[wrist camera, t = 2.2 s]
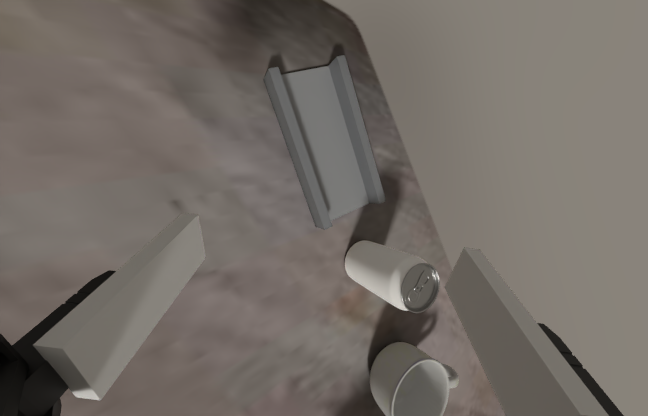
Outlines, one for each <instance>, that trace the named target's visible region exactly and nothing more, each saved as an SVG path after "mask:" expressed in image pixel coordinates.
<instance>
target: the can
mask: <svg viewBox="0 0 648 416" xmlns="http://www.w3.org/2000/svg"><path fill="white" fill-rule="evenodd" d="M345 269H346V272H347V274H348V276H349V277H350V278H351V279H353V280H354V281H356V282H357V283H359V284H360V285H362V286H363V287H365V288H367V289H368V290H370V291H371V292H373V293H374V294H376V295H377V296H379V297H381V298H382V299H384V300H385V301H387V302H388V303H390V304H392V305H393V306H395V307H397V308H399V309H401V310H405V311H410V312H412V313H421V312H424V311H426V310H427V309H428V308H430V307H431V305H432V304H433V303H434V301H435V299H436V297H437V295H438V292H439V285H440V281H439V275H438V273H437V271H436V269H435V268H434V267H433V266H432V265H430V264H428V263H427V262H426V261H425V260H423V259H422V258H420V257H418V256H415V255H412V254H409V253H406V252H403V251H400V250H397V249H394V248H390V247H387V246H384V245H381V244H378V243H374V242H371V241H367V240H363V241H359V242H357V243H355V244H354V245H353V246H352V247H351V248H350V249H349V251H348V252H347V255H346V258H345Z"/></svg>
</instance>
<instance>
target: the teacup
mask: <svg viewBox="0 0 648 416" xmlns="http://www.w3.org/2000/svg"><path fill="white" fill-rule="evenodd" d="M448 376H449V377H448ZM458 382H459V378H458V375H457V373H456V371H455V370H454V369H452V368H451V367H449V366H447V365H445V364H442V363H440V362H439V361H437V360H435V359H433V358H431V357H430V356H429V355H427V354H426V353H424V352H423V351H421V350H420V349H418V348H417V347H415V346H413V345H411V344H409V343H405V342H396V343H392V344H390V345H388V346H387V347H385V348H384V349H383V350H382V351H381V352H380V353H379V354H378V355H377V357H376V359H375V361H374V363H373V365H372V368H371V373H370V387H371V392H372V395H373V397H374V399H375V401H376V403H377V404H378V406H379V407H380V409H381V410H382V411H383V413H384V414H385V415H386V416H442V415H443V413H444V411H445V409H446V405H447V402H448V396H449V388H454V387H456V386H457V385H458Z"/></svg>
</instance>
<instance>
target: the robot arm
mask: <svg viewBox="0 0 648 416" xmlns="http://www.w3.org/2000/svg"><path fill="white" fill-rule="evenodd" d="M205 258H206V255H205V250H204V244H203V239H202V233H201V227H200V222H199V216H198V215H197V214H189V213H182V214H181V215H180V216H178V217H177V218H176V219H175V220H174V221H173V222H172V223H171V224H169V225H168V226H167V227H166V228H165V229H164V230H163V231H161V232H160V233H159V234H158V235H157V236H156V237H155V238H154V239H152V240H151V241H150V242H149V243H148V244H147V245H146V246H144V247H143V248H142V249H141V250H140V251H139V252H138V253H137V254H135V255H134V256H133V257H132V258H131V259H130V260H129V261H127V262H126V263H125V264H124V265H123V266H122V267H121V268H120V269H118V270H117V271H110V270H109V271H107V272H105V273H103V274H102V275H100V276H98V277H96V278H94V279H92V280H91V281H90V282H89V283H87V284H86V285H85V286H84V287H82V288H81V289H80V290H79V291H78V293H77V294H74V295H73V296H72V297H70V298H69V299H68V300H67V301H66V303H65V304H62V305H61V306H60V307H58V308H57V309H56V310H55V311H54V312H52V313H51V314H50V315H49V316H48V317H46V318H45V319H44V320H43V321H41V322H40V323H39V324H38V325H37V326H35V327H34V328H33V329H32V330H31V331H29V332H28V333H27V334H26V335H25V336H23V337H22V338H21V339H20V340H19V341H17V342H16V343H15V344H14V345H12V346H11V345H10V343H9V342H8V341H7V340H6V339H5V338H4V337H3V336H2V335H1V334H0V416H60V413H61V400H60V397H61V396H62V395H63V393H64V392H65V391H66V390H67V389H68V388H69V389H70V390H71V391H72V393H73V394H74V395H75V396H76V397H79V398H86V399H94V400H101V399H102V398H103V397H104V395H105V394H106V393H107V391H108V390H109V388H110V387H111V386H112V384H113V383H114V382H115V380H116V379H117V378H118V376H119V375H120V373H121V372H122V371H123V369H124V368H125V367H126V365H127V364H128V363H129V361H130V360H131V359H132V357H133V356H134V354H135V353H136V352H137V350H138V349H139V348H140V346H141V345H142V344H143V342H144V341H145V340H146V338H147V337H148V335H149V334H150V333H151V331H152V330H153V329H154V327H155V326H156V325H157V323H158V322H159V320H160V319H161V318H162V316H163V315H164V314H165V312H166V311H167V310H168V308H169V307H170V306H171V304H172V303H173V301H174V300H175V299H176V297H177V296H178V295H179V293H180V292H181V291H182V289H183V288H184V286H185V285H186V284H187V282H188V281H189V280H190V278H191V277H192V276H193V274H194V273H195V272H196V270H197V269H198V267H199V266H200V265H201V263H202V262H203V261H204V259H205ZM445 289H446V291H447V294H448V296H449V298H450V300H451V302H452V304H453V306H454V308H455V310H456V312H457V315H458V317H459V319H460V321H461V323H462V325H463V327H464V329H465V331H466V333H467V336H468V338H469V340H470V342H471V344H472V346H473V348H474V350H475V352H476V354H477V357H478V359H479V361H480V363H481V365H482V367H483V369H484V371H485V373H486V375H487V378H488V380H489V382H490V384H491V386H492V388H493V390H494V392H495V394H496V396H497V399H498V401H499V403H500V405H501V407H502V409H503V411H504V413H505V415H506V416H623V414H622V413H621V412H620V411H619V410H618V408H617V407H616V406H615V405H614V404H613V402H612V401H611V400H610V399H609V397H608V396H607V395H606V394H605V393H604V391H603V390H602V389H601V388H600V387H599V385H598V384H597V383H596V381H595V380H594V379H593V378H592V377H591V375H590V374H589V373H588V372H587V370H586V369H583V367H582V364H581V363H580V362H579V361H578V359H577V358H576V357H575V356H573V355H572V352H571V351H570V350H569V349H568V347H567V346H566V345H565V344H564V343H563V341H562V340H561V339H560V338H559V337H558V336H557V335H556V334H555V333H553V332H552V331H551V330H550V329H549V328H548V327H547V326H545V325H544V324H540V323H536V321H535V320H534V319H533V317H532V316H531V315H530V314H529V312H528V311H527V310H526V308H525V307H524V306H523V304H522V303H521V302H520V301H519V299H518V298H517V297H516V295H515V294H514V293H513V292H512V290H511V289H510V288H509V287H508V285H507V284H506V283H505V281H504V280H503V279H502V277H501V276H500V275H499V274H498V273H497V271H496V270H495V268H494V267H493V266H492V264H491V263H490V262H489V261H488V259H487V258H486V257H485V255H484V254H483V253H482V252H481V250H480V249H473V248H465V247H464V249H463V251H462V253H461V255H460V257H459V259H458V261H457V263H456V265H455V267H454V269H453V271H452V273H451V275H450V277H449V279H448V281H447V283H446V285H445Z"/></svg>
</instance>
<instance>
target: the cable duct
mask: <svg viewBox="0 0 648 416" xmlns="http://www.w3.org/2000/svg"><path fill="white" fill-rule="evenodd" d="M264 82H265V85H266V88H267V91H268V94H269V96H270V99H271V102H272V105H273V108H274V111H275V113H276V116H277V119H278V122H279V125H280V127H281V130H282V133H283V136H284V139H285V141H286V144H287V147H288V150H289V153H290V155H291V158H292V161H293V164H294V167H295V170H296V172H297V175H298V178H299V181H300V184H301V186H302V189H303V192H304V195H305V198H306V200H307V203H308V206H309V209H310V212H311V215H312V217H313V220H314V223H315V226H316V227H318V228H321V229H324V230H325V229H327V228H330V227H332V223H331V221H332V220H334V219H336V218H338V217H340V216H343V215H345V214H347V213H349V212H351V211H353V210H356V209H358V208H360V207H362V206H364V205H366V204H369V203H376V204H380V203H382V202H384V201H386V199H385V195H384V192H383V188H382V185H381V181H380V178H379V174H378V171H377V167H376V164H375V160H374V157H373V153H372V150H371V146H370V143H369V139H368V136H367V132H366V129H365V125H364V122H363V118H362V114H361V111H360V107H359V104H358V100H357V97H356V93H355V90H354V86H353V83H352V79H351V76H350V72H349V69H348V65H347V62H346V58H345V55H342V56H337V57H336V58H335V59H334V60H333V61H332V62H331V63H330V65H329V66H325V67H320V68H314V69H309V70H304V71H299V72H293V73H288V74H283V75H281V73H280V70H279V68H278V67H274V68H268V71H267V73H266V75H265V78H264Z"/></svg>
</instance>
